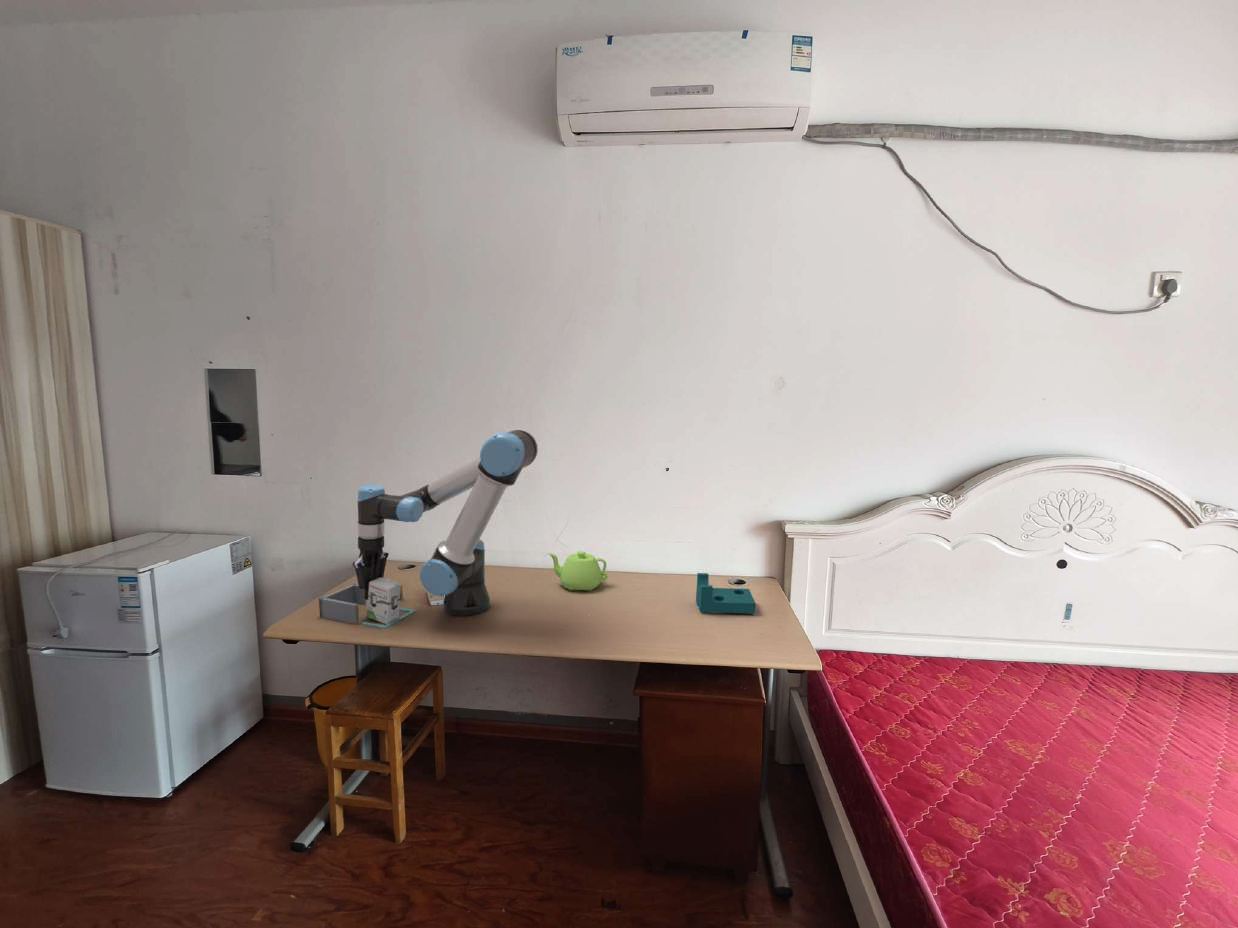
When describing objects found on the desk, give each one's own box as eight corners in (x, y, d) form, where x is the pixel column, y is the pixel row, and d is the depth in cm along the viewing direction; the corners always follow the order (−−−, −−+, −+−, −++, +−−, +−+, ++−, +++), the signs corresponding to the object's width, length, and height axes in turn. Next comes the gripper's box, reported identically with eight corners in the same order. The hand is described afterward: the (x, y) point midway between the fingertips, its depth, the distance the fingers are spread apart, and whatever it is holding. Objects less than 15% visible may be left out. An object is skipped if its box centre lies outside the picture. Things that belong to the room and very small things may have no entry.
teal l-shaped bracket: (699, 616, 187) (701, 586, 185) (695, 600, 198) (697, 572, 195) (754, 617, 187) (757, 588, 185) (747, 602, 198) (750, 574, 195)
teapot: (545, 593, 202) (545, 557, 200) (549, 579, 217) (549, 545, 215) (607, 594, 203) (608, 558, 201) (607, 579, 218) (608, 546, 216)
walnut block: (402, 598, 194) (402, 584, 194) (396, 604, 190) (395, 589, 189) (388, 597, 195) (388, 583, 194) (381, 603, 190) (380, 589, 189)
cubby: (389, 607, 187) (388, 589, 186) (355, 624, 173) (355, 605, 172) (355, 600, 191) (354, 583, 190) (319, 616, 178) (318, 598, 177)
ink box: (365, 617, 176) (367, 581, 174) (378, 611, 181) (380, 576, 179) (387, 624, 173) (389, 588, 171) (399, 618, 178) (401, 583, 176)
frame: (415, 611, 184) (415, 610, 184) (384, 628, 171) (384, 627, 171) (394, 607, 186) (394, 606, 186) (362, 624, 173) (362, 622, 173)
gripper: (376, 529, 183) (376, 598, 187) (345, 538, 171) (345, 613, 175) (395, 532, 181) (395, 602, 185) (364, 542, 169) (364, 618, 172)
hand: (371, 607), depth 180 cm, fingers closed
